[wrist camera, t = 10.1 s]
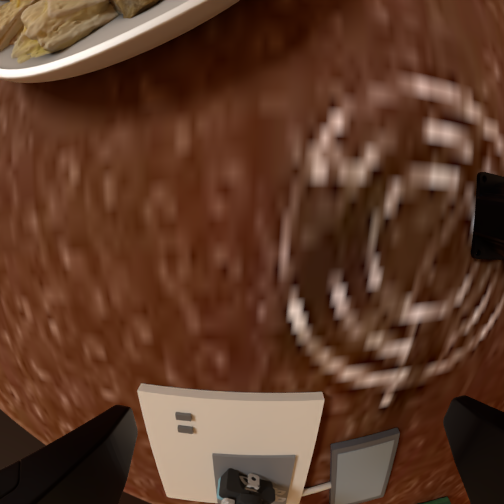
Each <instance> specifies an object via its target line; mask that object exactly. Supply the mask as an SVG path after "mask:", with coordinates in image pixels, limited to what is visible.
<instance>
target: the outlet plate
mask: <svg viewBox="0 0 504 504" xmlns="http://www.w3.org/2000/svg"><path fill="white" fill-rule="evenodd" d="M137 392H138V396H139V401H140V405H141V409H142V414H143V418H144V422H145V426H146V429H147V433H148V437H149V441H150V444H151V448H152V451H153V455H154V458H155V461H156V465H157V468H158V471H159V474H160V477H161V480H162V483H163V486H164V489H165V492H166V495H167V497H171V498H177V499H184V500H191V501H200V502H209V503H220V504H221V502H222V500H219V499H218V498H217V488H218V480H219V478H220V477H221V476H222V475H223V474H224V473H225V472H226V471H227V470H228V469H229V468H232V469H235V470H237V471H238V473H241V474H244V475H247V476H248V474H250V473H251V474H254V475H258V476H259V479H262V480H266V481H270V482H272V484H273V488H277V489H278V490H282V491H286V493H284V494H283V495H277V494H275V495H277V497H282V498H286V500H285V501H284V502H278V501H274V502H273V503H271V504H299V503H300V499H301V496H302V492H303V489H304V485H305V482H306V478H307V474H308V470H309V467H310V463H311V459H312V455H313V450H314V446H315V442H316V438H317V433H318V429H319V424H320V420H321V415H322V410H323V405H324V396H323V393H322V392H308V393H244V392H222V391H206V390H194V389H183V388H173V387H165V386H157V385H149V384H142V383H141V385H140V387H139V388H138V390H137ZM277 493H281V492H277ZM278 500H282V499H278Z"/></svg>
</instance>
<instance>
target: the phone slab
mask: <svg viewBox="0 0 504 504" xmlns="http://www.w3.org/2000/svg"><path fill="white" fill-rule="evenodd" d="M399 436H400V432H399V430H398V428H394V429H391V430H387V431H384V432H380V433H376V434H373V435H369V436H365V437H361V438H357V439H352V440H348V441H343V442H339V443H334V444H331V464H330V482H331V488H330V496H329V504H358V503H362V502H366V501H370V500H373V499H377V498H380V497H383V496H384V493H385V490H386V487H387V483H388V480H389V476H390V473H391V469H392V465H393V461H394V457H395V453H396V449H397V445H398V440H399Z"/></svg>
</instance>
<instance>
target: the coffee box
mask: <svg viewBox="0 0 504 504" xmlns="http://www.w3.org/2000/svg"><path fill="white" fill-rule="evenodd" d="M419 504H451V503H450V501H449V498H448V497H444V498H438V499H436V500H433V501H429V502H425V503H419Z"/></svg>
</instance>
